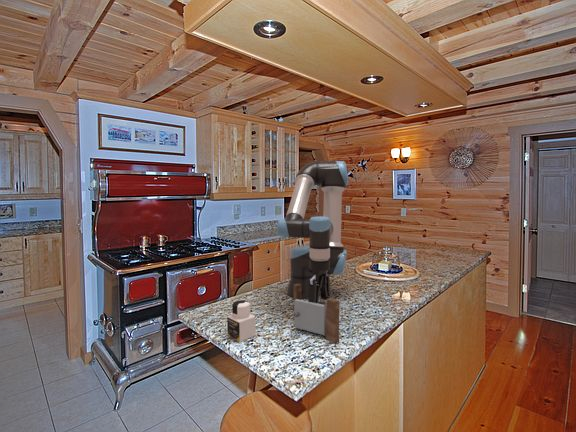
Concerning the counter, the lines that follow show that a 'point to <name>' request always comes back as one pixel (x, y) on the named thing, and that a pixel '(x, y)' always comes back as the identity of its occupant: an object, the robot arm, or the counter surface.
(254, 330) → the medicine bottle
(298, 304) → the door
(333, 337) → the doorframe
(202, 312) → the counter surface
